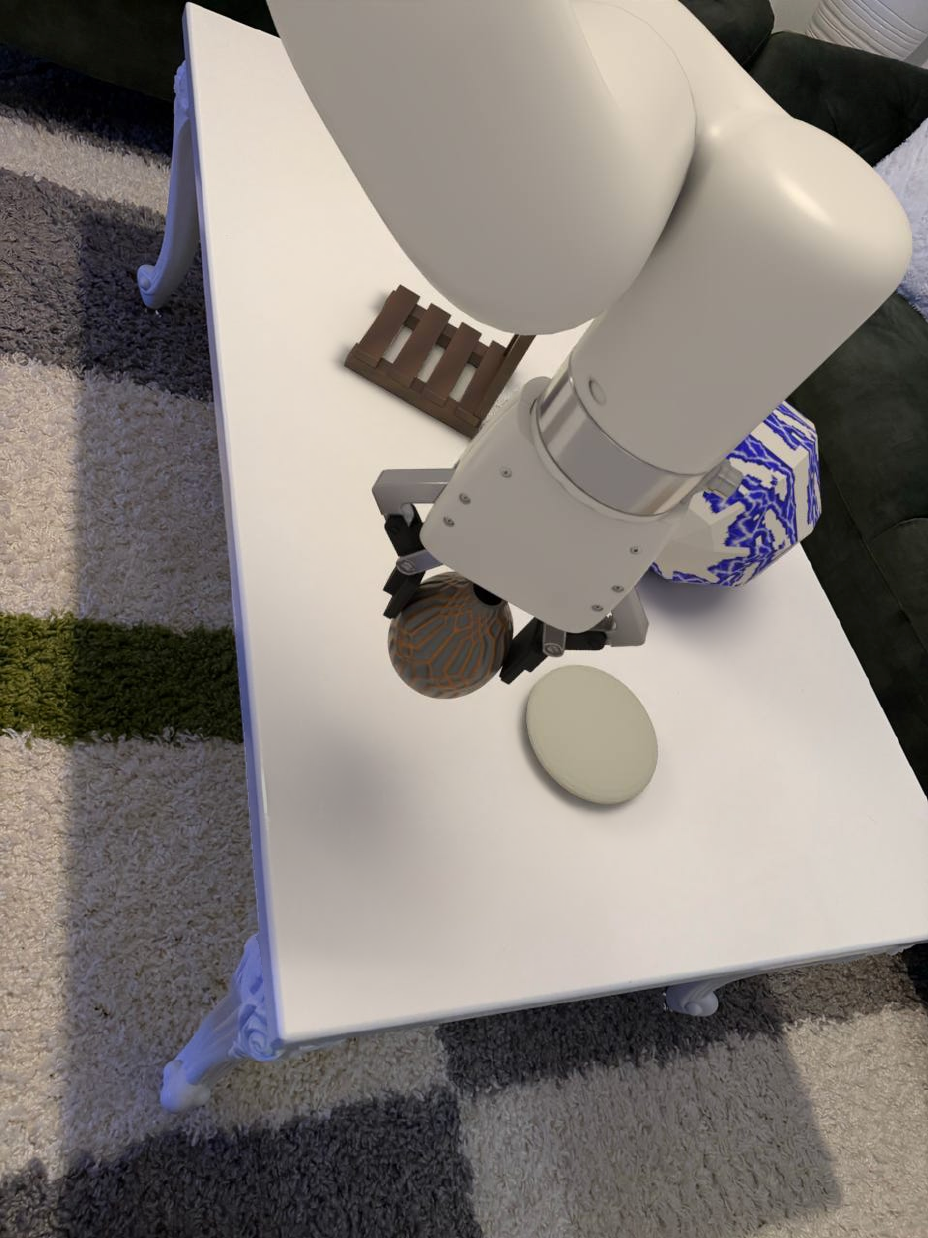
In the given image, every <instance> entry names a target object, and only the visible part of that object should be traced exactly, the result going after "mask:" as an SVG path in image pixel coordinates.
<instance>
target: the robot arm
mask: <svg viewBox="0 0 928 1238" xmlns="http://www.w3.org/2000/svg"><path fill="white" fill-rule="evenodd" d="M265 2H266V5H267V7H268V10H269V13H270V16H271V19H272V21H273V25H274V28H275V29H276V32H277V34H278V37H279V38H280V41H281V43H282V45H283V47H284V49H285V52H286V54H287V56H288V59H289V61H290V64H291V66H292V68H293V69H294V71H295V73H296V75H297V78H298V79H299V82H300V83H301V85H302V87H303V89H304V91H305V93H306V94H307V96H308V99H309V101H310V102H311V104H312V105H313V108H314V109H315V111H316V112H317V115H319V118H320V119H321V122H322V123H323V125H324V127H325V129H326V130H327V132H328V133H329V135H330V136H331V138H332V141H334V143H335V145H336V147H337V148H338V150H339V152H340V153H341V155H342V157H343V159H344V160H345V162H346V164H347V165H348V167H349V168H350V170H351V172H352V174H353V176H354V177H355V178H356V180H357V182H358V184H359V185H360V187H361V188H362V191H363V192H364V194H365V195H366V197H367V199H368V200H369V202H370V203H371V205H372V207H373V208H374V210H375V211H376V213H377V215H378V216H379V218H380V219H381V221H382V222H383V224H384V226H385V227H386V228H387V231H389V233H390V234H391V236H392V237H393V239H394V241H395V242H396V243H397V244H398V246H399V248H400V249H401V251H402V252H403V253H404V255H405V256H406V257H407V258H408V260H410V262H411V263H412V264H413V265H414V267H415V268H416V270H418V272H419V273H420V274H421V275H422V276H423V278H424V279H425V280H426V281H427V282H428V283H429V285H430V286H431V287H433V288H434V289H435V291H437V292H438V294H440V295H441V296H442V297H443V298H445V300H447V301H448V302H449V303H450V304H451V305H452V306H454V307H455V308H456V309H458V310H459V311H461V312H462V313H464V314H465V315H467V316H468V317H470V318H472V319H473V320H475V321H476V322H478V323H480V324H483V325H486V326H488V327H491V328H493V329H496V330H498V331H501V332H503V333H509V334H513V335H514V334H519V335H536V336H548V335H554V334H558V333H562V332H565V331H569V330H574V329H576V328H578V327H579V326H582V325H584V324H586V323H587V322H590V321H591V322H590V324H589V325H588V327H587V328H586V330H585V331H584V332H583V334H582V335H581V337H580V338H579V339H578V341H577V342H576V344H575V346H573V347H572V349H571V350H570V352H569V353H568V355H567V356H566V357H565V359H564V360H563V362H562V363H561V365H560V366H559V367H558V368H557V370H556V371H555V373H554V375H553V376H552V377H548V376H545V375H544V376H543V375H542V376H537V377H533V378H531V379H529V380H528V381H527V382H526V383H524V384H523V385H521V387H520V388H518V389H517V391H515V392H514V393H513V394H512V395H511V396H510V397H509V398H508V399H507V400H506V401H505V402H504V403H503V404H502V405H501V406H500V407H499V408H498V409H497V410H496V411H495V412H494V414H492V416H491V417H490V418H489V419H488V420H487V421H486V422H485V424H484V425H483V426H482V427H481V429H479V430H478V431H479V432H477V433H476V435H475V436H474V438H473V439H471V442H470V443H469V444H468V445H467V446H466V448H465V449H464V451H463V452H462V453H461V455H459V457H458V458H457V460H456V462H455V463H454V464H453V465H452V467H450V468H449V467H447V468H446V467H445V468H444V467H443V468H442V467H441V468H389V469H388V468H387V469H383V470H381V471H380V473H379V474H378V477H377V478H376V480H375V482H374V483H373V484H372V487H371V493H372V495H373V498H374V501H375V503H376V506H377V508H378V511H379V512H380V515H381V516H383V518H384V521H385V522H384V524H383V527H384V531H385V533H386V535H387V537H388V539H389V541H390V543H391V545H392V547H393V549H394V551H395V553H396V555H397V559H396V561H395V566H394V568H393V569H392V571H391V573H390V575H389V576H388V578H387V580H386V582H385V584H384V586H383V588H382V591H383V592H384V593H387V594H388V595H390V596H391V597H390V599H389V601H388V603H387V605H386V607H385V609H384V611H383V613H382V616H383V617H385V618H387V619H388V620H392V618H394V619H396V617H397V616H398V615H399V613H400V612H401V611H402V609H403V608H404V606H405V605H406V604H407V602H408V601H409V600H410V598H411V597H412V595H413V594H414V593H415V591H416V590H417V589H418V587H419V585H420V583H421V582H423V579H424V577H425V575H426V572H427V571H430V570H433V569H435V568H438V567H442V566H446V567H447V568H449V569H450V570H452V571H455V572H457V573H459V574H460V575H462V576H464V577H466V578H467V579H469V580H471V581H472V582H474V583H476V584H478V585H479V586H481V587H483V588H484V589H486V590H488V591H490V592H491V593H493V594H495V595H497V596H498V597H500V598H502V599H504V600H505V601H507V602H508V604H511V605H513V606H515V607H516V608H518V609H520V610H522V611H523V612H525V613H527V614H528V615H530V616H532V618H531V620H530V621H529V622H527V623H526V625H524V626H523V628H522V629H521V630H520V631H519V632H517V634H515V636H513V640H512V645H511V648H510V651H509V654H508V656H507V658H506V660H505V662H504V664H503V666H502V667H501V669H500V670H499V674H498V678H499V679H500V681H501V682H502V683H504V684H506V685H507V686H510V685H511V684H512V683H513V682H514V681H515V680H516V679H517V678H519V676H520V675H521V674H523V672H524V671H526V672H528V673H530V674H531V673H532V672H533V671H534V670H535V669H537V668H538V667H539V666H540V665H541V664H542V663H543V662H544V661H545V660H546V659H547V658H548V657H550V658H555V659H556V658H561V657H563V656H564V654H565V651H591V652H592V651H597V652H598V651H601V650H603V649H604V648H605V646H610V647H611V648H622V647H624V648H626V647H640V646H643V645H644V644H645V643H646V639H647V635H648V631H649V627H650V622H649V619H648V616H647V613H646V611H645V609H644V607H643V603H642V601H641V598H640V595H639V592H638V590H637V587H636V585H637V584H638V582H639V581H640V580H641V579H642V578H643V576H644V575H645V573H646V572H647V571H648V570H649V568H651V567H650V566H651V564H652V563H653V562H654V560H655V559H656V558H657V556H658V555H659V554H660V552H661V551H662V550H663V548H664V547H665V545H666V544H667V543H668V541H669V540H670V538H671V537H672V535H673V534H674V532H675V531H676V529H677V528H678V526H679V524H680V523H681V521H682V519H683V518H684V516H685V514H686V512H687V510H688V508H689V505H690V502H691V500H692V497H693V495H695V494H697V493H699V492H701V491H703V490H704V491H705V492H707V493H712V492H713V493H715V494H716V495H718V496H719V497H721V498H723V499H727V498H729V497H730V496H731V495H732V494H733V493H734V492H735V491H736V490H737V488H738V487H739V485H740V483H741V481H742V478H743V473H742V472H740V471H739V470H737V469H736V468H734V467H732V466H731V462H730V461H729V460H727V459H726V457H727V456H728V455H729V454H730V453H731V452H732V451H733V450H734V449H735V448H736V447H737V446H738V445H739V444H740V443H741V442H742V441H743V440H744V439H745V438H746V437H747V436H748V435H749V434H750V433H751V432H752V431H753V430H754V429H755V428H756V427H757V426H758V425H759V424H761V423H762V422H763V421H764V420H765V419H766V418H767V417H768V416H769V415H770V414H771V413H772V412H773V411H774V410H775V409H776V408H777V407H778V406H779V405H780V404H781V403H782V402H783V401H784V400H785V401H786V399H788V397H789V396H790V395H792V394H793V393H794V392H795V390H796V389H798V387H800V386H801V385H802V384H803V383H804V382H805V381H806V380H807V379H808V378H809V377H810V376H811V375H812V374H813V373H814V372H815V371H816V370H817V369H818V368H819V367H820V366H821V365H822V364H823V363H824V362H825V361H826V360H827V359H828V358H830V356H831V355H833V354H834V352H835V351H836V350H837V349H838V348H840V347H841V346H842V344H844V343H845V341H847V340H848V339H849V338H850V337H851V336H852V335H853V334H854V333H855V332H856V331H857V330H858V329H859V328H861V326H862V325H863V324H864V323H865V322H866V321H867V320H868V319H869V318H870V317H871V316H872V315H873V314H874V313H875V312H876V311H877V310H878V309H880V307H881V306H882V305H883V304H884V303H885V302H886V301H887V299H889V297H890V296H892V294H893V293H894V292H895V291H896V290H897V288H898V287H899V285H900V284H901V282H902V281H903V279H904V277H905V275H906V272H907V271H908V268H909V266H910V263H911V261H912V257H913V250H914V242H913V241H914V240H913V231H912V228H911V223H910V220H909V218H908V215H907V213H906V211H905V210H904V208H903V206H902V205H901V203H900V201H899V200H898V199H899V198H897V196H896V195H895V193H894V192H893V191H892V189H891V188H890V187H889V185H888V183H886V181H885V180H884V179H883V177H881V175H880V174H879V173H878V172H877V171H876V170H875V169H874V168H873V167H872V166H871V165H870V164H869V163H868V162H867V161H866V160H864V158H862V157H861V155H859V154H857V153H856V151H854V150H853V149H852V148H850V147H849V146H848V145H846V144H845V143H844V142H842V141H841V140H839V139H838V138H836V137H835V136H833V135H831V134H829V133H828V132H826V131H824V130H822V129H820V128H819V127H816V126H814V125H812V124H810V123H808V122H805V121H804V120H800V119H797V118H794V117H793V116H791V115H790V114H789V113H788V112H787V111H786V110H785V109H783V108H782V106H780V105H779V104H778V103H777V102H776V101H775V100H774V99H773V98H772V97H771V96H770V95H769V94H768V93H767V92H766V91H765V89H763V88H762V87H761V86H760V84H759V83H757V82H756V81H755V80H754V78H753V77H752V76H751V75H750V74H749V72H747V71H746V70H745V69H744V68H743V66H741V65H740V64H739V63H738V61H737V60H736V59H735V58H734V57H733V56H732V55H731V54H730V53H729V51H728V50H727V49H726V48H725V47H724V46H723V45H722V44H721V42H720V41H718V39H717V38H716V36H715V35H713V34H712V33H711V32H710V31H709V29H708V28H707V27H706V26H705V25H704V24H703V23H702V22H701V21H700V20H699V19H698V18H697V17H696V16H695V15H694V14H693V13H692V12H691V10H689V9H688V8H687V7H686V6H685V5H684V4H683V3H682V2H680V1H679V0H265ZM415 504H421V505H422V504H423V505H426V504H427V505H428V504H429V505H432V506H431V508H430V509H429V511H428V513H427V515H426V517H425V520H424V521H423V520H422V518H421V516H420V513H419V511H418V509H417V507H416V506H415ZM610 613H611V614H610Z"/></svg>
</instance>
